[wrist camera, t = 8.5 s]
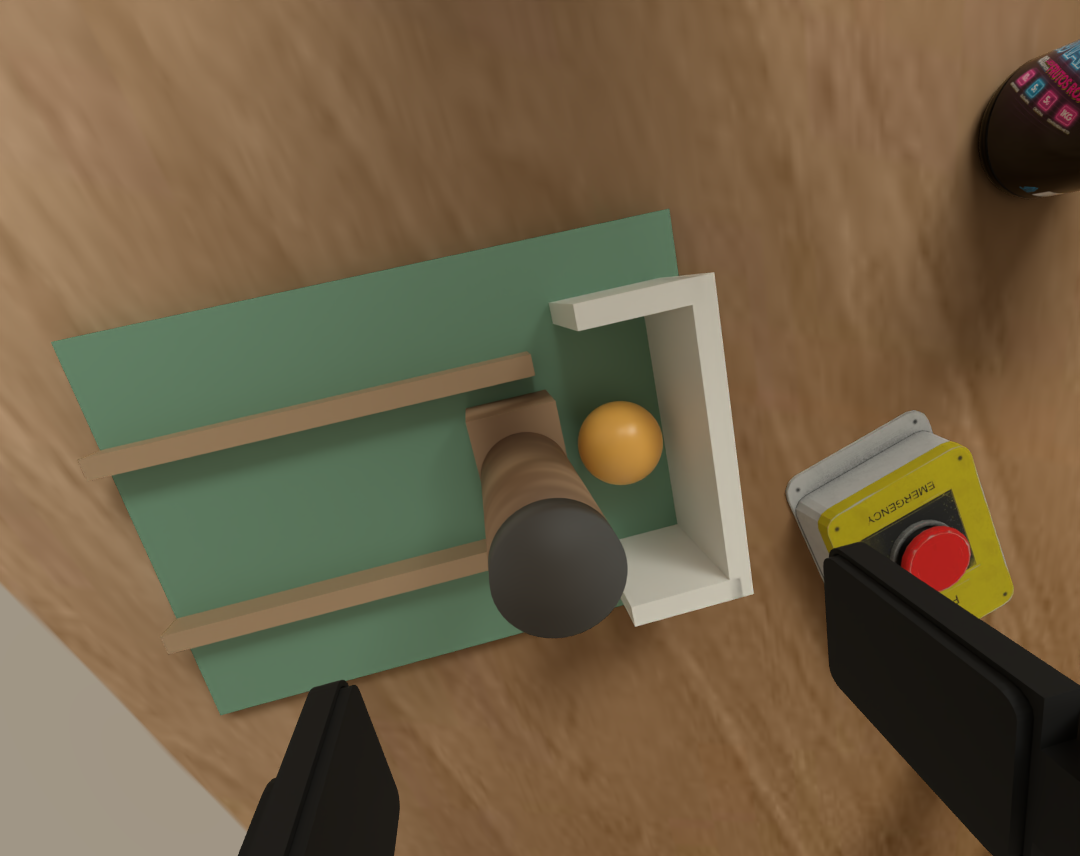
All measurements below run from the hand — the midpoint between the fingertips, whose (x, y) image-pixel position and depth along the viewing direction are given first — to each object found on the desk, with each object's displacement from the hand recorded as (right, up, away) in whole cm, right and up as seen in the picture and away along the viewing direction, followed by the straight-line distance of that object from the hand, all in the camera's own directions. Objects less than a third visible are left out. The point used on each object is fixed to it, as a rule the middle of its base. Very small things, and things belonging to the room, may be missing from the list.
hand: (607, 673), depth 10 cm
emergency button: (+20, -2, +23) cm, 31 cm away
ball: (+3, +4, +15) cm, 16 cm away
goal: (+3, +5, +17) cm, 18 cm away
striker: (-2, +3, +16) cm, 17 cm away
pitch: (-7, +3, +17) cm, 19 cm away
